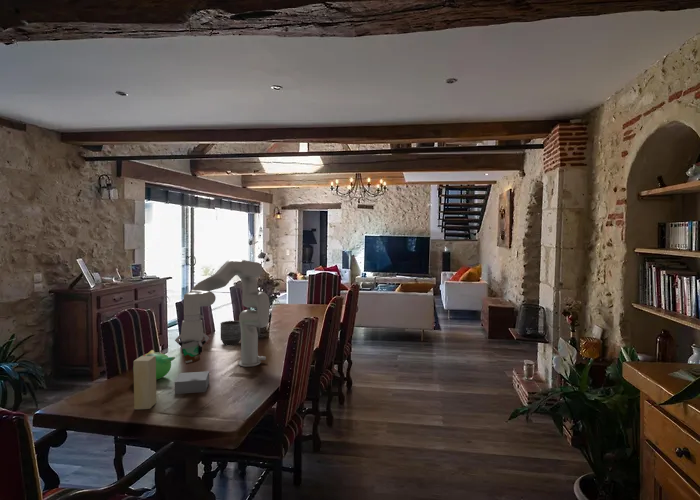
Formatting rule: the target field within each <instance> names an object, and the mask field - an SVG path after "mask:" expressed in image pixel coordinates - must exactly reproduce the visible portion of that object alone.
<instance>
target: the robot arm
mask: <svg viewBox="0 0 700 500" xmlns="http://www.w3.org/2000/svg"><path fill="white" fill-rule="evenodd" d="M262 273H263V267H262V264H260V262H256V261H251V260H245V259H228V260H227V261H225V262H224V263H223V264H222V265H221V266H220V268H219V269H218V270H217V271H216V272H215V273H214V274H213V275H211V276H208V277H207V278H205V279H203V280H201V281H199V282H198V283H196V285H194V286H193V287H192V288H191V289H190V291H189V292H186V293H185V294H184V295H183V320H182V322H181V330H180V331H181V332H180V334H179V335H178V336H177V337H176V338H175V339H174V342H176V343H177V344H178V345H179V346H180V347H181V349H182V344H186V343H187V342H194V341H198V343H199V355H201V353H203V346H204V345H206V343H207V342H208V341H209V339H210V337H209V336H208V335H207V334H205V332H204V325H203V320H202V319H204V314H203V315H202V314H201V307H210V306H212V305H213V304H214V303H215V302H216V298H217V297H216V294H215V293H214V292H212V291H214V290H219V289H223V288H224V287H226V286H227V285H228V284H229V283H230V282H231V281H232V280H233V278H234V277H235V276H237V277H238V278H239V279H240V282H241V284H242V294H241V295H242V296H241V297H242V298H241V299H242V306H243V307H245V308H251V309H245V310H242V311H241V312H240V313H239V316H238V318H239V319H238V321H239V322H240V327H241V340H240V360H239V361H238V363H237V364H238V366H240V367H244V368H245V367H246V368H248V367H250V368H251V367H256V366H259V365H261V361H266V359H267V356H263V355H259V351H258V349H259V348H258V347H259V346H258V344H259V337H258V336H259V335H258V334H259V333H258V330H257V328H260V329H261V328H265V327H267V325H268V324H269V317H270V298H269V295H268V294H267V293H266V292H263V291H258V280H257V278H259V277H260V276H261V275H262ZM255 309H257V310H255ZM180 340H181V341H180ZM181 353H182V355H184V353H183V349H182V351H181Z"/></svg>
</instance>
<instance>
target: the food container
mask: <svg viewBox="0 0 700 500" xmlns="http://www.w3.org/2000/svg"><path fill="white" fill-rule="evenodd" d="M181 349H183V353H184V354H183V356H184V361H185V365H191V364H194V363H197V362H199V361H200V360H201V356H200V355H199V343H198V341H194V342H186V344H182V347H181Z"/></svg>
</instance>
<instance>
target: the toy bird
mask: <svg viewBox="0 0 700 500" xmlns="http://www.w3.org/2000/svg"><path fill="white" fill-rule="evenodd" d="M141 356H156V381H157V380H160V379H162V378H164V377H165V376H166V375H167V374H169V372H170V370H171V368H172V361H174V360H175V359H176V357H175V356H168V354H165V353H162V352H159V351H158V352H156V351H154V349H151V350H150V351H149V352H148V353H145V354H143V355H141ZM132 370H133V372H134V365H133V367H132Z"/></svg>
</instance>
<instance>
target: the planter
mask: <svg viewBox="0 0 700 500" xmlns="http://www.w3.org/2000/svg"><path fill="white" fill-rule="evenodd" d="M220 341H221V342H222V343H223V345H224V346H227V345H232V346H236V344H237V345H238V344H240V343H241V327H240V322H239V320H227V321H222V322H220Z"/></svg>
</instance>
